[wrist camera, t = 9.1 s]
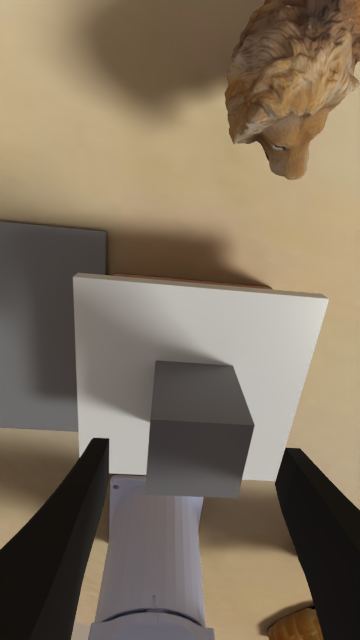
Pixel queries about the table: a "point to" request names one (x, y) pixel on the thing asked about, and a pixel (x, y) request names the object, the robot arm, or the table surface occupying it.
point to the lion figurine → (291, 76)
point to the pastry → (297, 627)
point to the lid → (191, 378)
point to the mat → (42, 321)
